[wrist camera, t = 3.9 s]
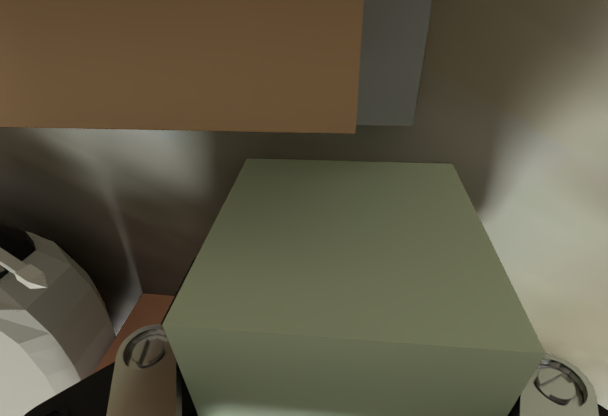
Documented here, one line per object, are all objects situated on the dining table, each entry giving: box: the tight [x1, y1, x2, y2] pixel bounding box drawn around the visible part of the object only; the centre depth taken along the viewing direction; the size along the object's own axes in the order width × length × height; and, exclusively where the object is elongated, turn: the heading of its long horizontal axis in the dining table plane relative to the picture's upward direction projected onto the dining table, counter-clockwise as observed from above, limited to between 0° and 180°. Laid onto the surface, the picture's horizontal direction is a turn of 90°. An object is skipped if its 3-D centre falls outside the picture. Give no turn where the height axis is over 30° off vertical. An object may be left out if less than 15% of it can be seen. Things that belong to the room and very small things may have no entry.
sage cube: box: [162, 158, 546, 416], centre depth 10 cm, size 6×6×6 cm
